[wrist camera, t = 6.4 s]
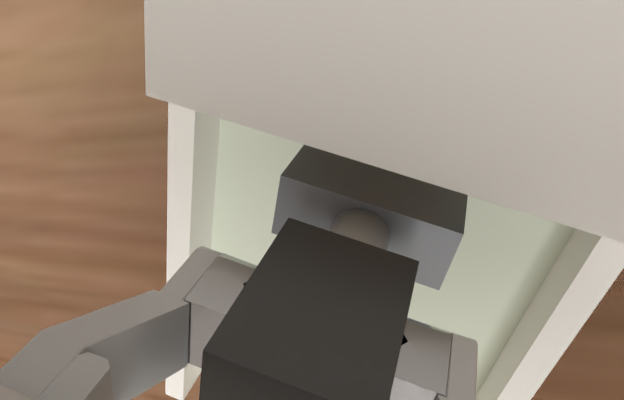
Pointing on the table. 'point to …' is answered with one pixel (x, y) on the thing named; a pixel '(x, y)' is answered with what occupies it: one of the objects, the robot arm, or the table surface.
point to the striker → (333, 284)
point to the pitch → (412, 145)
